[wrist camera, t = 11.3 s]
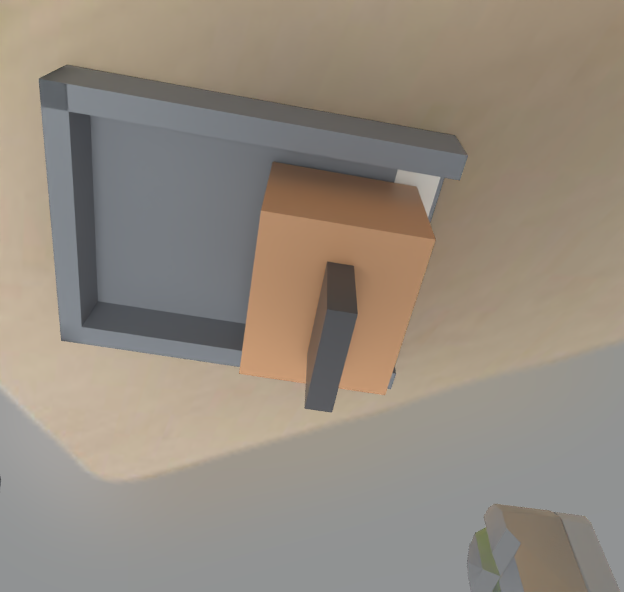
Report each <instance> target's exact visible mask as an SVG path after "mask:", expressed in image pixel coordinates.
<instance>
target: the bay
mask: <svg viewBox="0 0 624 592" xmlns="http://www.w3.org/2000/svg"><path fill="white" fill-rule="evenodd" d="M39 88H40V100H41V111H42V123H43V135H44V146H45V158H46V169H47V181H48V193H49V204H50V216H51V227H52V239H53V251H54V262H55V274H56V285H57V297H58V308H59V320H60V332H61V341H67V342H74V343H81V344H88V345H94V346H101V347H108V348H115V349H122V350H128V351H135V352H142V353H149V354H156V355H162V356H169V357H176V358H183V359H190V360H196V361H203V362H210V363H217V364H224V365H230V366H237V367H240V363H241V356H242V348H243V341H244V333H245V326H246V318H247V311H248V303H249V296H250V288H251V281H252V273H253V266H254V258H255V251H256V244H257V236H258V229H259V221H260V214H261V208H262V204H263V200H264V196H265V192H266V187H267V183H268V179H269V175H270V171H271V167H272V162H278V163H284V164H289V165H295V166H301V167H307V168H312V169H318V170H324V171H329V172H335V173H341V174H347V175H352V176H358V177H364V178H370V179H375V180H381V181H387V182H393V183H398V184H404V185H410V186H416V187H417V188H418V191H419V194H420V197H421V200H422V202H423V205H424V208H425V211H426V214H427V217H428V219H429V222H431V219H432V216H433V213H434V209H435V206H436V203H437V200H438V197H439V194H440V190H441V187H442V184H443V181H444V178H449V179H455V180H460V178H461V175H462V172H463V169H464V166H465V163H466V160H467V157H468V155H467V153H466V152H465V150H464V149H463V147H462V146H461V144H460V142H459V141H458V139H457V138H456V136H455V135H449V134H444V133H438V132H433V131H427V130H422V129H416V128H411V127H405V126H400V125H394V124H389V123H383V122H378V121H373V120H367V119H362V118H356V117H351V116H345V115H340V114H334V113H329V112H323V111H318V110H312V109H307V108H301V107H296V106H290V105H285V104H279V103H274V102H268V101H263V100H257V99H252V98H246V97H241V96H235V95H230V94H224V93H219V92H213V91H208V90H202V89H197V88H191V87H186V86H180V85H175V84H169V83H164V82H158V81H153V80H147V79H142V78H136V77H131V76H125V75H120V74H114V73H109V72H103V71H98V70H92V69H87V68H81V67H76V66H70V65H65V66H63V67H61V68H59V69H57V70H55V71H53V72H51V73H49V74H47V75H45V76H43V77H41V78H39ZM395 375H396V372H395V366H394V369H393V373H392V376H391V379H390V382H389V385H388V388H387V389H391V387H392V384H393V381H394V378H395Z"/></svg>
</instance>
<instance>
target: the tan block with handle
mask: <svg viewBox="0 0 624 592" xmlns="http://www.w3.org/2000/svg"><path fill="white" fill-rule="evenodd" d="M435 241H436V239H435V236H434V233H433V231H432V228H431V225H430V222H429V219H428V217H427V214H426V211H425V208H424V205H423V202H422V200H421V197H420V194H419V191H418V188H417V187H416V186H410V185H404V184H398V183H393V182H387V181H381V180H375V179H370V178H364V177H358V176H352V175H347V174H341V173H335V172H329V171H324V170H318V169H312V168H307V167H301V166H295V165H289V164H284V163H278V162H272V167H271V171H270V175H269V179H268V183H267V187H266V192H265V196H264V200H263V204H262V208H261V214H260V221H259V229H258V236H257V244H256V251H255V258H254V266H253V273H252V281H251V288H250V296H249V303H248V311H247V318H246V326H245V333H244V341H243V348H242V356H241V363H240V371H239V374H244V375H251V376H258V377H265V378H272V379H279V380H285V381H292V382H299V383H306V390H305V409H311V410H318V411H325V412H332V410H333V407H334V403H335V399H336V395H337V391H338V388H340V389H347V390H354V391H361V392H367V393H374V394H381V395H385V394H386V391H387V388H388V385H389V382H390V379H391V376H392V373H393V369H394V366H395V363H396V360H397V357H398V354H399V351H400V348H401V345H402V342H403V339H404V336H405V333H406V330H407V327H408V323H409V320H410V317H411V314H412V311H413V308H414V305H415V302H416V299H417V296H418V293H419V290H420V287H421V284H422V281H423V277H424V274H425V271H426V268H427V265H428V262H429V259H430V256H431V253H432V250H433V247H434V244H435Z"/></svg>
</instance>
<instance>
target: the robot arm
mask: <svg viewBox="0 0 624 592" xmlns="http://www.w3.org/2000/svg"><path fill="white" fill-rule="evenodd" d="M0 485H1V477H0ZM484 521H485V525H486V528H484V529H482V530H480V531H478V532H476V533H475V534H474V536H473V539H472V541H471V543H470V545H469V552H468V560H467V568H468V579H469V584H470V590H471V592H620V590H619V587H618V585H617V583H616V581H615V578H614V576H613V573H612V571H611V569H610V567H609V564H608V562H607V559H606V557H605V555H604V552H603V550H602V548H601V545H600V543H599V541H598V538H597V536H596V534H595V531H594V529H593V527H592V524H591V522H590V521H589V520H588V519H587V518H586V517H585V516H580V515H573V514H566V513H558V512H551V511H549V510H540V509H532V508H525V507H516V506H508V505H500V504H493V505H492V506H490V507H489V508H488V510H487V511H486V514H485V515H484Z"/></svg>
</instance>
